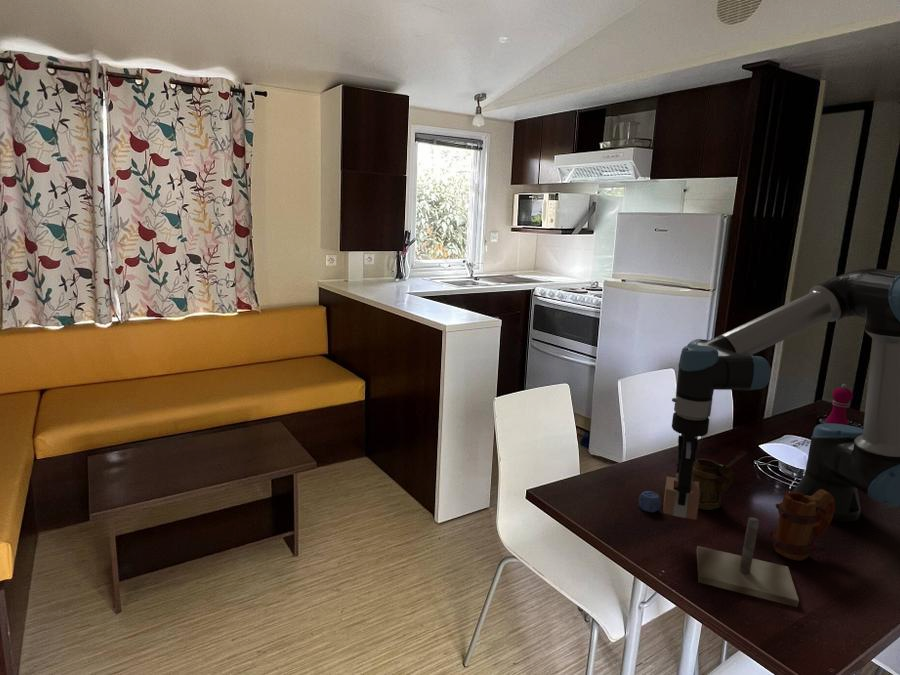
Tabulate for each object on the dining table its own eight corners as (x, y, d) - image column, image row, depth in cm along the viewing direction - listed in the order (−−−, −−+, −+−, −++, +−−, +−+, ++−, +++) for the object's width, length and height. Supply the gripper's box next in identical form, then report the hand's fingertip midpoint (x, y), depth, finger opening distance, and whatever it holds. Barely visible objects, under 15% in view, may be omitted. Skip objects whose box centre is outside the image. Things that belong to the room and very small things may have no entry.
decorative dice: (637, 505, 148) (639, 491, 147) (650, 504, 149) (652, 490, 148) (646, 513, 144) (648, 499, 143) (660, 511, 145) (662, 497, 144)
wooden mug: (727, 521, 141) (739, 455, 138) (677, 500, 151) (686, 437, 147) (743, 511, 147) (754, 446, 143) (693, 490, 157) (702, 430, 153)
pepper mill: (825, 431, 208) (836, 379, 204) (848, 438, 202) (860, 385, 198) (818, 435, 203) (829, 382, 199) (842, 442, 198) (853, 388, 194)
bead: (695, 505, 133) (698, 482, 131) (696, 519, 126) (699, 495, 125) (663, 499, 135) (666, 476, 134) (663, 513, 129) (666, 489, 127)
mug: (788, 567, 123) (800, 505, 120) (758, 546, 131) (769, 487, 128) (839, 559, 128) (852, 498, 124) (807, 539, 135) (819, 481, 132)
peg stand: (786, 572, 122) (797, 516, 119) (797, 607, 111) (810, 545, 108) (696, 551, 128) (705, 497, 125) (698, 582, 117) (707, 523, 114)
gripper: (673, 399, 136) (663, 486, 141) (673, 426, 118) (661, 525, 123) (707, 403, 133) (695, 492, 138) (712, 432, 115) (698, 533, 120)
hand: (679, 507), depth 131 cm, fingers closed on bead, 7 cm apart
